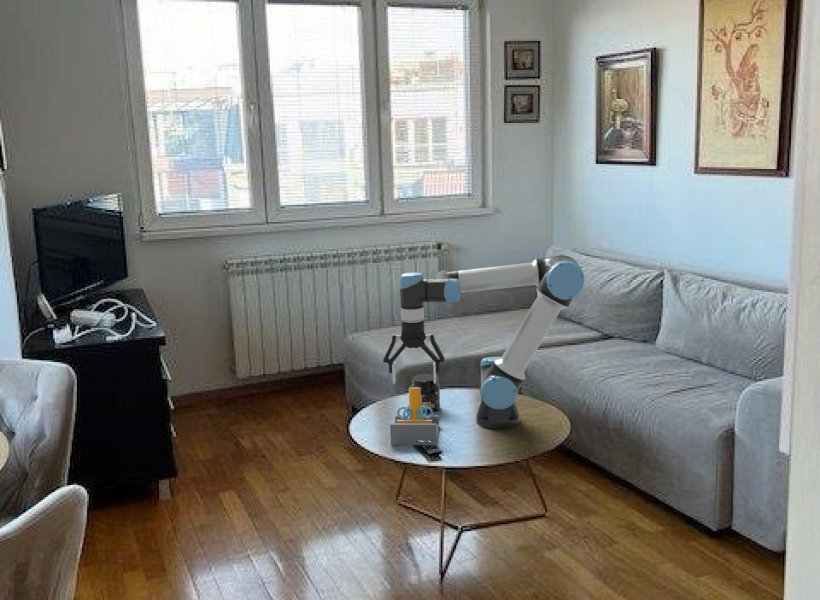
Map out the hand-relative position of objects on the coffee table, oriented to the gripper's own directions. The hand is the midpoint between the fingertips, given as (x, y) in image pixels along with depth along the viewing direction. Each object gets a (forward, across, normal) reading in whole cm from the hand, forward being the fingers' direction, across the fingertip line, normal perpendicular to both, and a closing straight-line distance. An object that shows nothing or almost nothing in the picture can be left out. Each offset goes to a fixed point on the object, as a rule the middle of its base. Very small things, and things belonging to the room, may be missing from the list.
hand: (414, 382), depth 280 cm
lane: (+18, 0, 0) cm, 18 cm away
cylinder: (+18, 0, -1) cm, 18 cm away
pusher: (+18, 0, +4) cm, 19 cm away
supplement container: (+19, -2, -27) cm, 33 cm away
